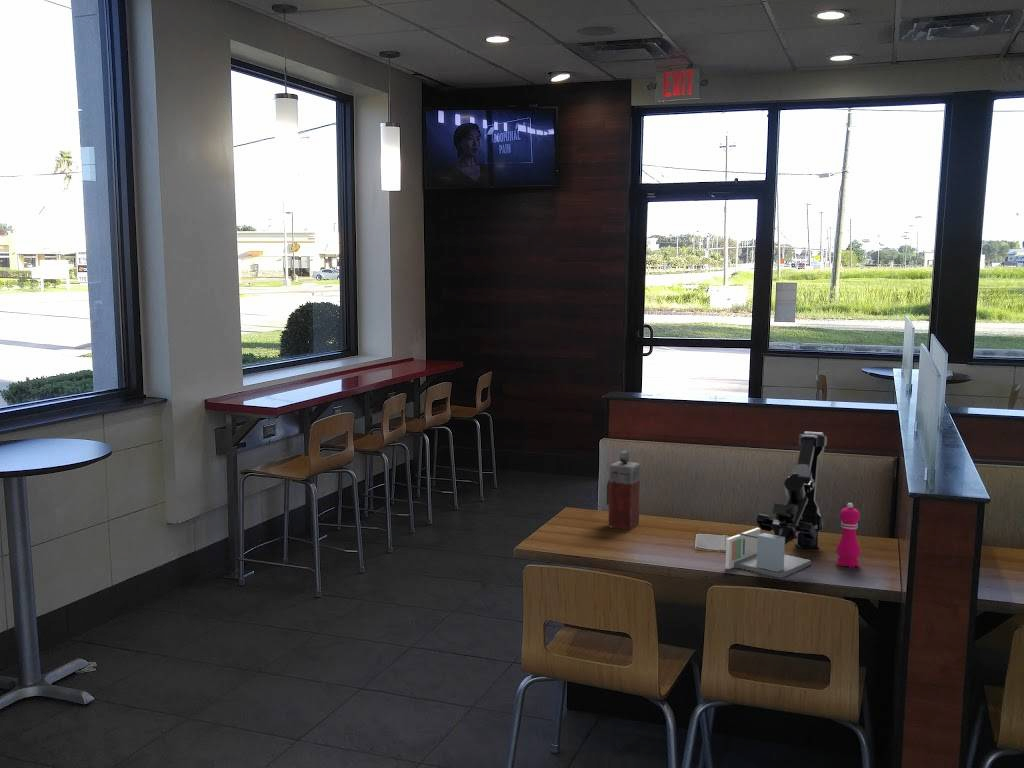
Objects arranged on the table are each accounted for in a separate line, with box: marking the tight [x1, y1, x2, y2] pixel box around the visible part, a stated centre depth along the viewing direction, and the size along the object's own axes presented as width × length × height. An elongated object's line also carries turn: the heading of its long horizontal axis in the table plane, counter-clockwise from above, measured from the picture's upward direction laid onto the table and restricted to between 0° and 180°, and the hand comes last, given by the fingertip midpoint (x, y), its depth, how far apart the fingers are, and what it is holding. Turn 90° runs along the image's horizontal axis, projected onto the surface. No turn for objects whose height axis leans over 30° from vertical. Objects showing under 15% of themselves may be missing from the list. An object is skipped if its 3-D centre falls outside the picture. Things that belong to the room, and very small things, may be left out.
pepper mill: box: [835, 502, 862, 568], centre depth 284 cm, size 7×7×20 cm
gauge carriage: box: [738, 532, 786, 572], centre depth 278 cm, size 5×14×10 cm, turn 45°
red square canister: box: [606, 450, 641, 530], centre depth 332 cm, size 9×11×28 cm
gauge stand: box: [725, 527, 812, 579], centre depth 282 cm, size 22×17×10 cm
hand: (775, 549), depth 277 cm, fingers closed
